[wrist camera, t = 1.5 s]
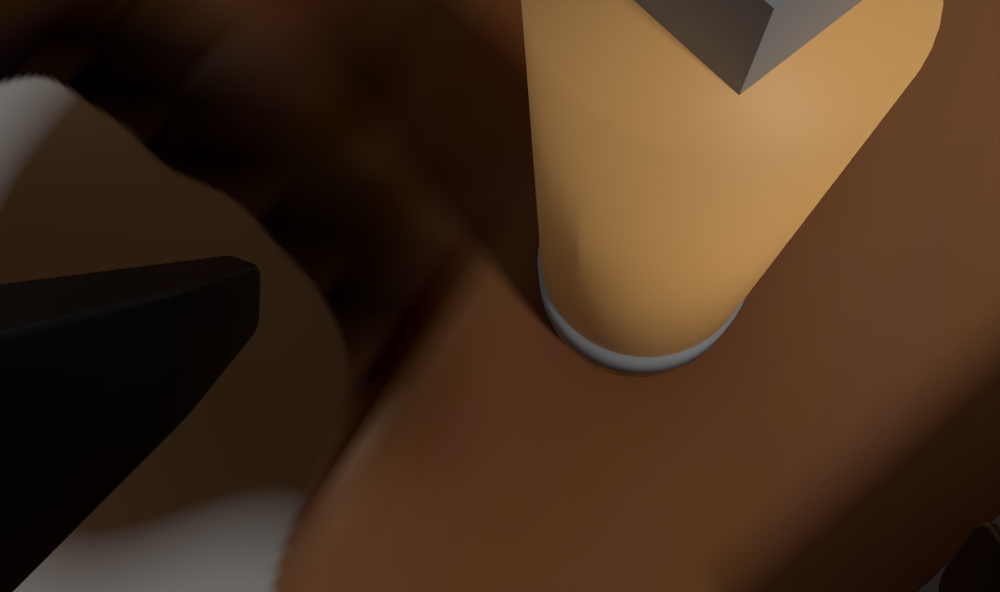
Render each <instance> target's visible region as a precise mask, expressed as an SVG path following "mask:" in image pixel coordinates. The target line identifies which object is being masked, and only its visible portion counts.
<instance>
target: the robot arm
mask: <svg viewBox="0 0 1000 592" xmlns="http://www.w3.org/2000/svg"><path fill="white" fill-rule="evenodd" d="M259 304H260V272H259V269H258V268H257V267H256V266H255V265H254V264H252V263H249V262H247V261H244V260H241V259H238V258H235V257H232V256H221V257H214V258H205V259H198V260H190V261H182V262H174V263H166V264H159V265H151V266H142V267H134V268H127V269H118V270H111V271H103V272H95V273H87V274H80V275H72V276H63V277H56V278H47V279H39V280H32V281H23V282H15V283H8V284H0V592H13V591H14V590H15V589H16V588H17V587H18V586H19V585H20V584H21V583H22V582H23V581H24V580H25V579H26V578H27V577H28V576H29V575H30V574H31V573H32V572H33V571H34V570H35V569H36V568H37V567H38V566H39V565H40V564H41V563H42V562H43V561H44V560H45V559H46V558H47V557H48V556H49V555H50V554H51V553H52V552H53V551H54V550H55V549H56V548H57V547H58V546H59V545H60V544H61V543H62V542H63V541H64V540H65V539H66V538H67V537H68V536H69V535H70V534H71V533H72V532H73V531H74V530H75V529H76V528H77V527H78V526H79V525H80V524H81V523H82V522H83V521H84V520H85V519H86V518H87V517H88V516H89V515H90V514H91V513H92V512H93V511H94V510H95V509H96V508H97V507H98V506H99V505H100V504H101V503H102V502H103V501H104V500H105V499H106V498H107V497H108V496H109V495H110V494H111V493H112V492H113V491H114V490H115V489H116V488H117V487H118V486H119V485H120V484H121V483H122V482H123V481H124V480H125V479H126V478H127V477H128V476H129V475H130V474H131V473H132V472H133V471H134V470H135V469H136V468H137V467H138V466H139V465H140V464H141V463H142V462H143V461H144V460H145V459H146V458H147V457H148V456H149V455H150V454H151V453H152V452H153V451H154V450H155V449H156V448H157V447H158V446H159V445H160V444H161V443H162V442H163V441H164V440H165V439H166V438H167V437H168V436H169V435H170V434H171V433H172V432H173V431H174V430H175V429H176V428H177V427H178V426H179V424H180V423H181V422H182V421H183V420H184V419H185V418H186V417H187V416H188V415H189V414H190V412H191V411H192V410H193V409H194V408H195V407H196V405H197V404H198V403H199V402H200V401H201V399H202V398H203V397H204V395H205V394H206V393H207V392H208V391H209V389H210V388H211V387H212V386H213V384H214V383H215V382H216V381H217V379H218V378H219V377H220V376H221V374H222V373H223V372H224V371H225V370H226V368H227V367H228V366H229V365H230V363H231V362H232V361H233V360H234V358H235V357H236V356H237V355H238V353H239V352H240V351H241V350H242V348H243V347H244V346H245V344H246V343H247V342H248V341H249V340H250V338H251V337H252V335H253V334H254V332H255V330H256V328H257V325H258V321H259ZM938 592H1000V525H999V524H996V523H993V522H983V523H980V524H979V525H977V526H976V527H975V528H974V529H973V530H972V532H971V533H970V534H969V536H968V537H967V539H966V540H965V541H964V543H963V544H962V545H961V547H960V548H959V550H958V551H957V552H956V554H955V555H954V556H953V558H952V559H951V561H950V562H949V563H948V565H947V566H946V567H945V569H944V571H943V573H942V575H941V578H940V582H939V588H938Z"/></svg>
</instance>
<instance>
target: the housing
mask: <svg viewBox="0 0 1000 592" xmlns="http://www.w3.org/2000/svg"><path fill="white" fill-rule="evenodd" d="M521 3H522V16H523V30H524V43H525V56H526V69H527V82H528V96H529V109H530V122H531V135H532V149H533V162H534V175H535V188H536V202H537V215H538V228H539V241H540V242H539V248H538V274H539V285H540V294H541V298H542V302H543V306H544V309H545V311H546V314H547V316H548V318H549V320H550V322H551V324H552V326H553V327H554V329H555V331H556V333H557V334H558V336H559V337H560V338H561V340H562V341H563V342H564V344H565V345H566V346H567V347H568V348H569V349H570V350H571V351H572V352H574V353H575V354H576V355H577V356H579V357H580V358H581V359H582V360H584V361H586V362H587V363H589V364H591V365H592V366H595V367H597V368H599V369H601V370H604V371H607V372H610V373H614V374H618V375H624V376H635V377H644V376H654V375H658V374H663V373H667V372H669V371H672V370H675V369H678V368H679V367H681V366H683V365H685V364H687V363H689V362H691V361H693V360H695V359H696V358H698V357H699V356H700V355H702V354H703V353H704V352H706V351H707V350H708V349H709V348H710V347H711V346H712V345H713V344H714V343H715V342H716V341H717V339H718V338H719V337H720V336H721V334H722V333H723V332H724V331H725V329H726V328H727V327H728V326H729V324H730V323H731V322H732V320H733V319H734V318H735V317H736V315H737V313H738V311H739V310H740V308H741V306H742V304H743V302H744V299H745V297H746V296H747V295H748V293H749V292H750V291H751V289H752V288H753V287H754V285H755V284H756V283H757V282H758V280H759V279H760V278H761V276H762V275H763V274H764V272H765V271H766V270H767V269H768V267H769V266H770V265H771V263H772V262H773V261H774V259H775V258H776V257H777V256H778V254H779V253H780V252H781V250H782V249H783V248H784V246H785V245H786V244H787V242H788V241H789V240H790V239H791V237H792V236H793V235H794V233H795V232H796V231H797V229H798V228H799V227H800V226H801V224H802V223H803V222H804V220H805V219H806V218H807V216H808V215H809V214H810V213H811V211H812V210H813V209H814V207H815V206H816V205H817V203H818V202H819V201H820V199H821V198H822V197H823V196H824V194H825V193H826V192H827V190H828V189H829V188H830V186H831V185H832V184H833V183H834V181H835V180H836V179H837V177H838V176H839V175H840V173H841V172H842V171H843V169H844V168H845V167H846V166H847V164H848V163H849V162H850V160H851V159H852V158H853V156H854V155H855V154H856V153H857V151H858V150H859V149H860V147H861V146H862V145H863V143H864V142H865V141H866V140H867V138H868V137H869V136H870V134H871V133H872V132H873V130H874V129H875V128H876V126H877V125H878V124H879V123H880V121H881V120H882V119H883V117H884V116H885V115H886V113H887V112H888V111H889V110H890V108H891V107H892V106H893V104H894V103H895V102H896V100H897V99H898V98H899V97H900V95H901V94H902V93H903V91H904V90H905V89H906V87H907V86H908V85H909V83H910V82H911V81H912V80H913V78H914V77H915V76H916V74H917V73H918V72H919V70H920V69H921V67H922V65H923V63H924V62H925V60H926V58H927V56H928V54H929V53H930V51H931V49H932V46H933V43H934V41H935V38H936V35H937V32H938V29H939V26H940V20H941V14H942V8H943V0H521Z"/></svg>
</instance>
